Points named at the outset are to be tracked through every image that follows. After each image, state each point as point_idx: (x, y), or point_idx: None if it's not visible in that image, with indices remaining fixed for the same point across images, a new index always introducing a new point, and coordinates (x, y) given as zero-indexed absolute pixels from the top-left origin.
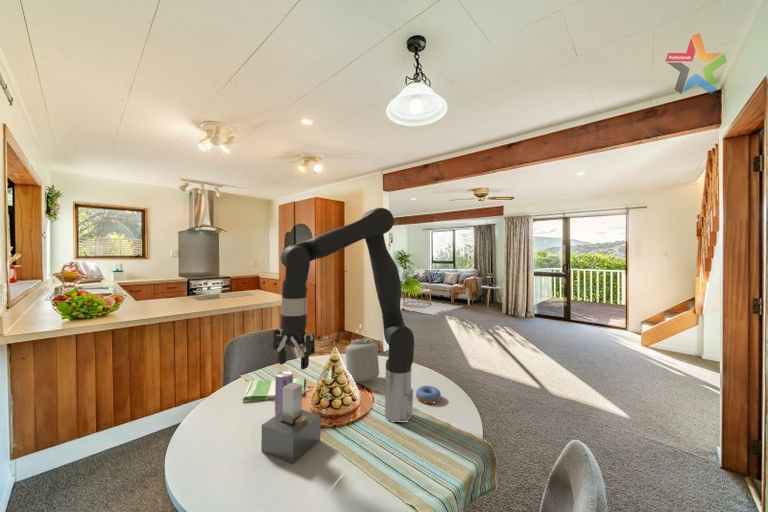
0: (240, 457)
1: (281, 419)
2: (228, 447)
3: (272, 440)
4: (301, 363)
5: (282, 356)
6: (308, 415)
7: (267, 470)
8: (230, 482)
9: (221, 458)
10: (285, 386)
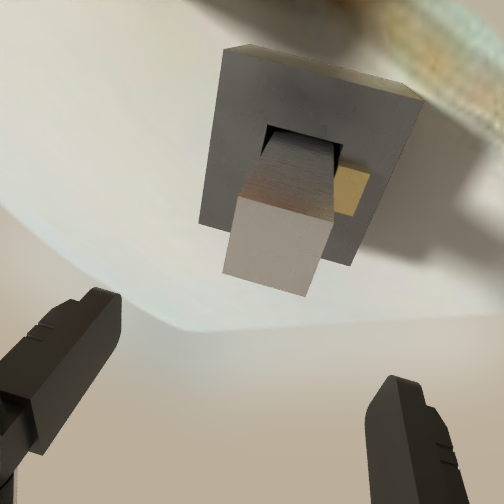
0: (185, 213)
1: (248, 177)
2: (121, 183)
3: None
4: (377, 477)
5: (74, 389)
6: (356, 118)
7: None
8: (226, 284)
9: (143, 224)
10: (232, 262)
